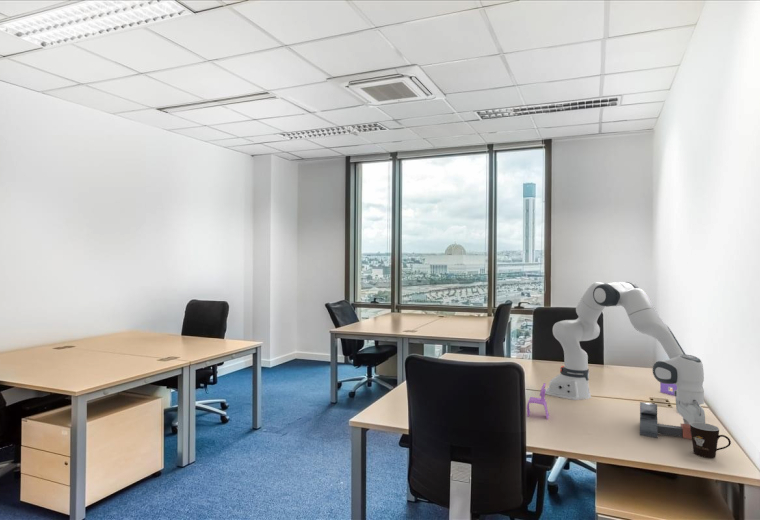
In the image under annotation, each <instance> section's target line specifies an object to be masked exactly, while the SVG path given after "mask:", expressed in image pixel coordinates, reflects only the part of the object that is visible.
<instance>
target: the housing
mask: <svg viewBox="0 0 760 520" xmlns="http://www.w3.org/2000/svg"><path fill="white" fill-rule="evenodd" d="M657 424H658V403H657V404H656V403H649V402H644V401H642V402H640V401H639V436H643V437H648V438H655V439H658V437H659V436H658V435H659V434H657Z"/></svg>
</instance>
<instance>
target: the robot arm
mask: <svg viewBox="0 0 760 520" xmlns="http://www.w3.org/2000/svg"><path fill="white" fill-rule="evenodd" d="M621 306H622V307H623V308H624V309H625V312H626V314H627V317H628V320H629V321H630V324H631V325H632V327H633V328H634V329H635V330H636V331H638V332H639V333H641V334H644V335H647V336H650V337H651V338H654V339H655V340H656V341H658V342H659V343H660V345H661V346H662V348H663V350H664V351H665V354H666V355H667V356H668V359H662V360H661V359H660V360H658V361H656V362H655V363H654V364H653V366H652V375H653V377H654V378H655V379H656V380H657V382H659V383H660V382H661V383H664V384H676V385H677V390H674V395H675V408H676V412H677V413H678V414H679V415H680V416H681V417H682V421H683V424H689V425H690V423H693V422H700V423H706V413H705V409H704V408H703V406H701V405H703V404H704V403H705V390H704V381H705V380H704V379H705V377H704V375H705V373H704V365H703V362H702V360H701V359H700V358H699V357H697V356H694V355H691V354H686V353H685V350H684V349H683V348H682V347H681V345H680V343H679V341H678V340H677V338H676V336H675V335H674V333H673V332H672V330H671V329H670V327H669V326H668V325H667V324H666V323H665V322H664V320H663V319H662V318H661V317H660V314H659V312H658V311H657V310H656V308H655V305H654V304H653V302H652V300H651V298H650V296H649V295H648V294H647V293H646V291H645V290H644V289H641V288H640V287H639V286H638V285H637V284H636V283H633V282H631V281H614V282H608V283H605V282H602V281H601V282H600V281H595V282H593V283H592V284H591V285H590V286H589V287H588V288H587V289H586V291H585V292H584V293H583V295H582V296H581V298H580V300H579V302H578V304H577V305H576V307H575V313H576V314H577V316H578V317H577V318H576V319H565V320H564V319H563V320H560V321H557V322H555V323H554V324H553V326H552V336H553V337H554V338H555V339H556V340H557V341H558V342H559V344H560V345H561V347H562V349H563V355H564V357H563V360H564V365H561V366H560V367H559V368H560V373H559V374H558V375H556V376H555V377H553V378H551V379H550V381H549V384H548V387H546V388H545V389H546V391H545V395H547V396H548V395H549V396H553V397H556V398H557V397H558V398H562V399H568V400H571V401H578V400H588V399H591V398H592V394H591V391H590V386H589V379H590V371H589V363H588V362H589V361H588V360H589V356H588V353H587V352H586V351H585V350H584V349H583V348H582V346H581V344H580V342H588V341H592V340H595V339H597V338H598V337H599V336H600V332H601V327H600V325H599V324H598V319H599V317H600V316H601V314H602V312H603V310H604V309H605V308H606V307H621ZM674 395H673V396H674ZM690 434H691V430H690Z"/></svg>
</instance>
